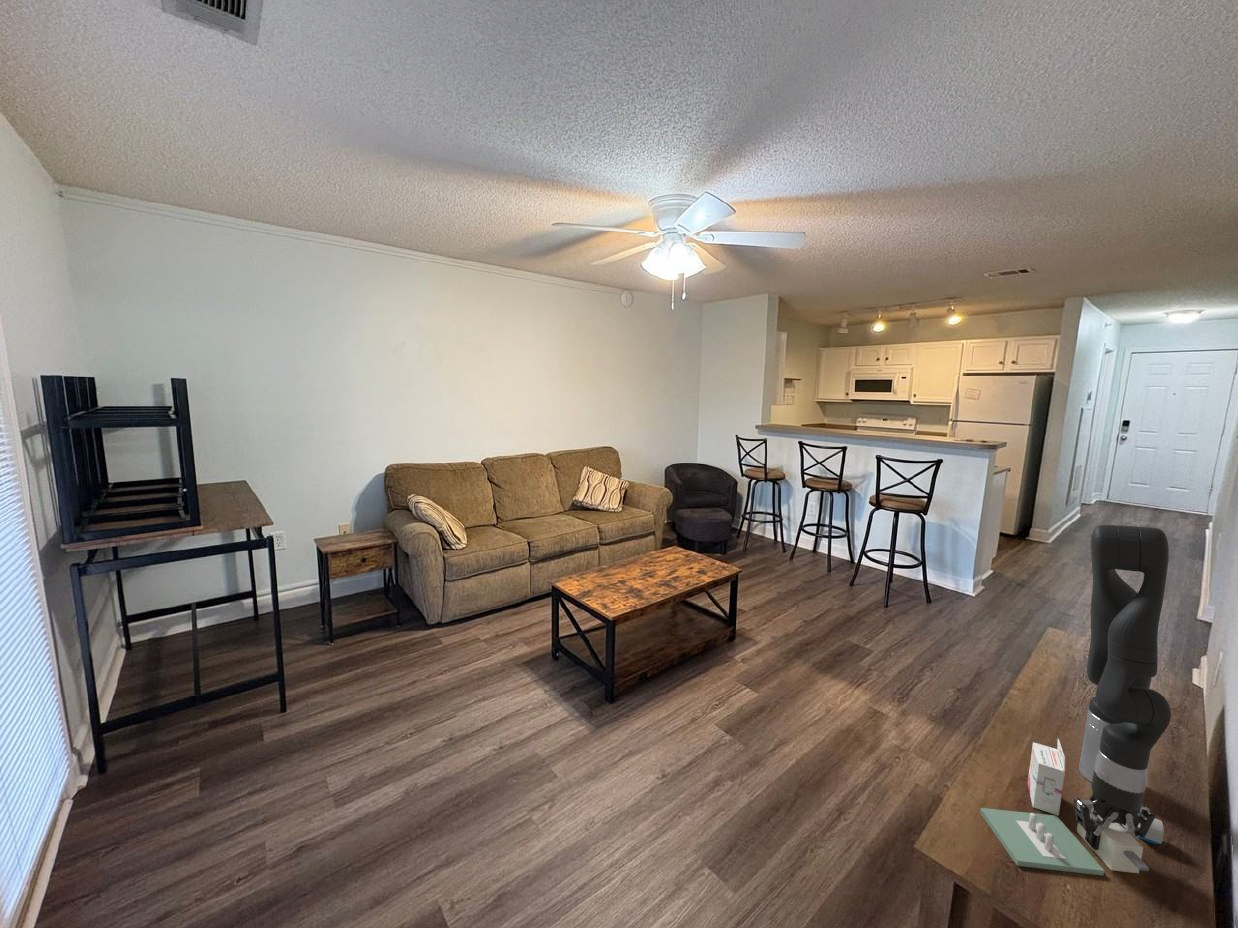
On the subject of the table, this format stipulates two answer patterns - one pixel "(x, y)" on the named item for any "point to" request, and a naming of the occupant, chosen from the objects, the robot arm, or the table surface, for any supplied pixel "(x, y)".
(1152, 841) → the electric motor
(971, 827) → the table surface
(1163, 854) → the table surface
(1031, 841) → the board
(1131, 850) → the plug housing
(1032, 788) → the ink cartridge box
